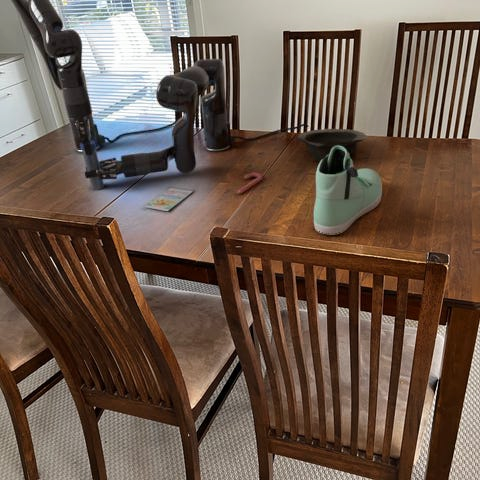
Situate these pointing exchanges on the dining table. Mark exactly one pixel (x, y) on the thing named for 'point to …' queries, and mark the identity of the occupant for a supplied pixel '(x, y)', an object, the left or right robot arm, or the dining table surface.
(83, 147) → the lid
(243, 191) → the candy cane
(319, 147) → the stone bowl
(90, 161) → the jar
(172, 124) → the left robot arm
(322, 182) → the sneaker
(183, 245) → the dining table surface
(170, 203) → the baking ingredient package
